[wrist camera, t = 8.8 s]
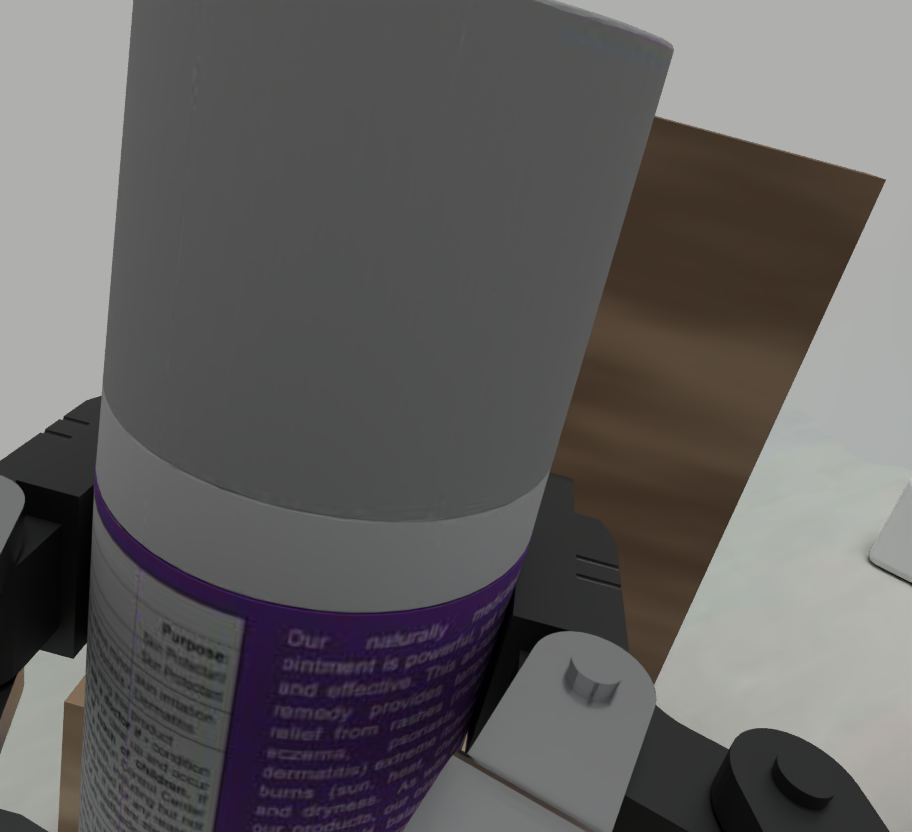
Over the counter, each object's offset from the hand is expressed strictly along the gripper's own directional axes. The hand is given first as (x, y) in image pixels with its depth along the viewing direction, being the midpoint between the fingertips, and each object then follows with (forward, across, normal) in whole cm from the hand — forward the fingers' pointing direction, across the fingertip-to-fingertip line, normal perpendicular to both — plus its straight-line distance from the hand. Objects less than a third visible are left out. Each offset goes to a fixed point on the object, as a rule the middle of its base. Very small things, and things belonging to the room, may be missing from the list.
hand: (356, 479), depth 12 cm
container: (-3, 0, +9) cm, 9 cm away
